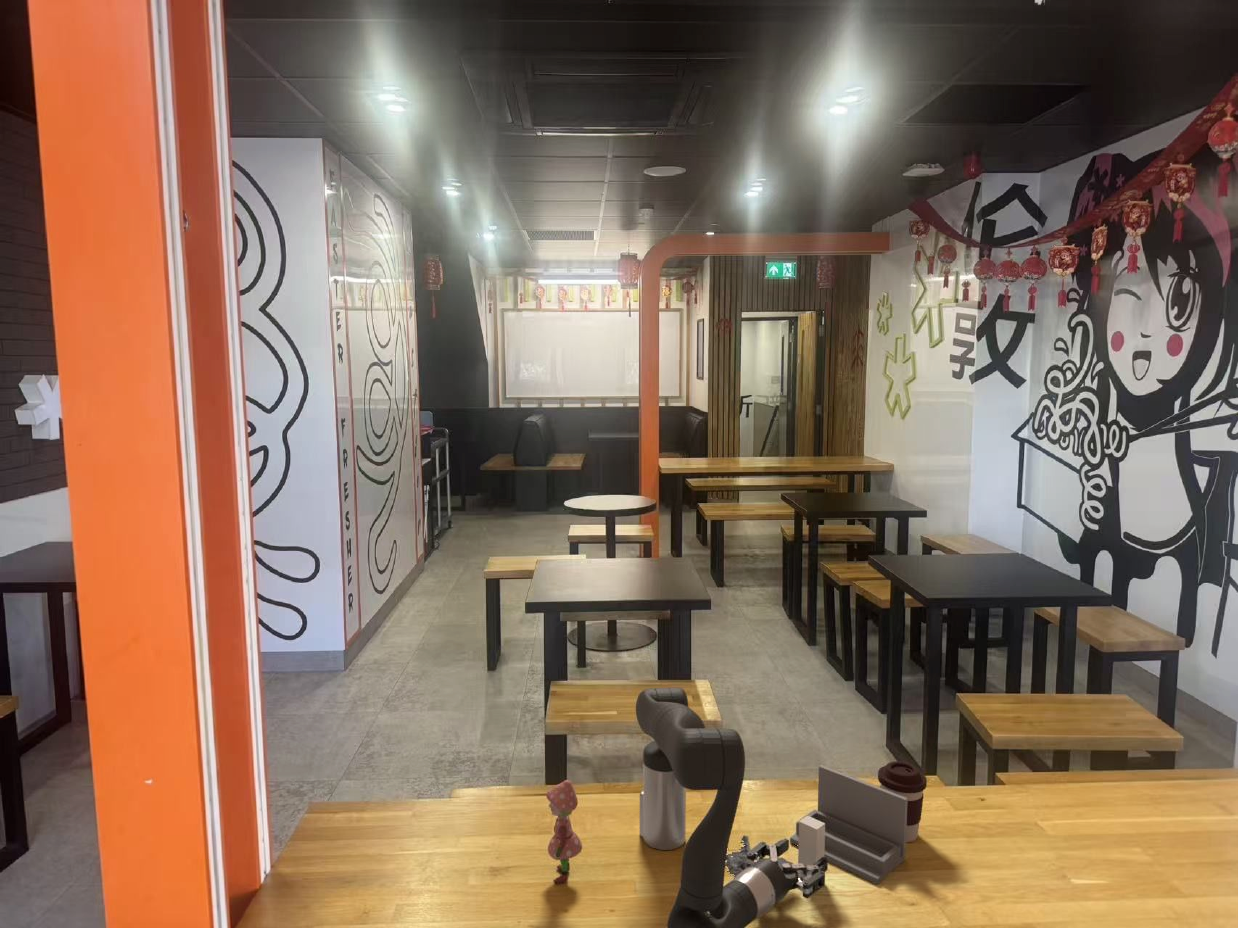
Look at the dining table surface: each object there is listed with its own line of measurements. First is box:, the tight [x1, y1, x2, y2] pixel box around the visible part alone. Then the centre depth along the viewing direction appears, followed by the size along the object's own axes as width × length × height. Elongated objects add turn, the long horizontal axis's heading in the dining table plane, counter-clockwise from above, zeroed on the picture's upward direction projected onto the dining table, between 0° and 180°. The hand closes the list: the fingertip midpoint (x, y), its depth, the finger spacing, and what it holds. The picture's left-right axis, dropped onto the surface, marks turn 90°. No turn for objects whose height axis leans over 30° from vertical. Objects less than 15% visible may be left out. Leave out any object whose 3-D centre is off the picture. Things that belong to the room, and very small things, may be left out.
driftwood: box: [725, 835, 751, 878], centre depth 163 cm, size 21×7×2 cm, turn 179°
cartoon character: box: [545, 779, 583, 884], centre depth 154 cm, size 10×7×20 cm
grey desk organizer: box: [789, 764, 908, 886], centre depth 163 cm, size 20×12×13 cm, turn 45°
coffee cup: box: [877, 761, 928, 843], centre depth 170 cm, size 10×10×15 cm
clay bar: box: [797, 815, 825, 878], centre depth 154 cm, size 4×3×12 cm
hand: (805, 852), depth 152 cm, fingers open, 8 cm apart
